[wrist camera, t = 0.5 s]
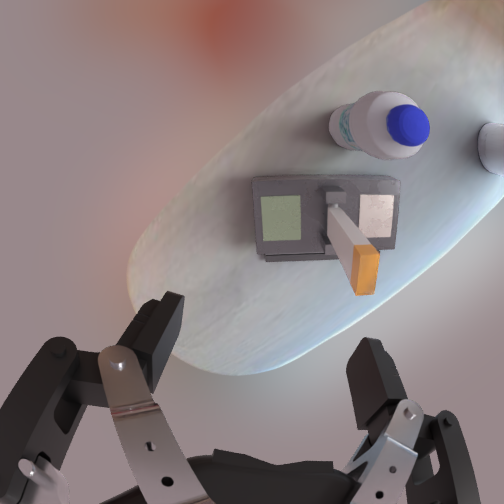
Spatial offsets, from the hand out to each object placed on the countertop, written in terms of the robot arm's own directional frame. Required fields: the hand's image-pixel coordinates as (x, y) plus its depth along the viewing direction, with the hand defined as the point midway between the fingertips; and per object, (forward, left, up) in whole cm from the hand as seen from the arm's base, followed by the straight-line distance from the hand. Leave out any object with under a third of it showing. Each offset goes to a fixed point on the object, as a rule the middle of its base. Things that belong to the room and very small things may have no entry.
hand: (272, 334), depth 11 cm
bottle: (-11, -9, -30) cm, 33 cm away
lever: (-7, +3, -24) cm, 25 cm away
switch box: (-7, +3, -30) cm, 31 cm away
